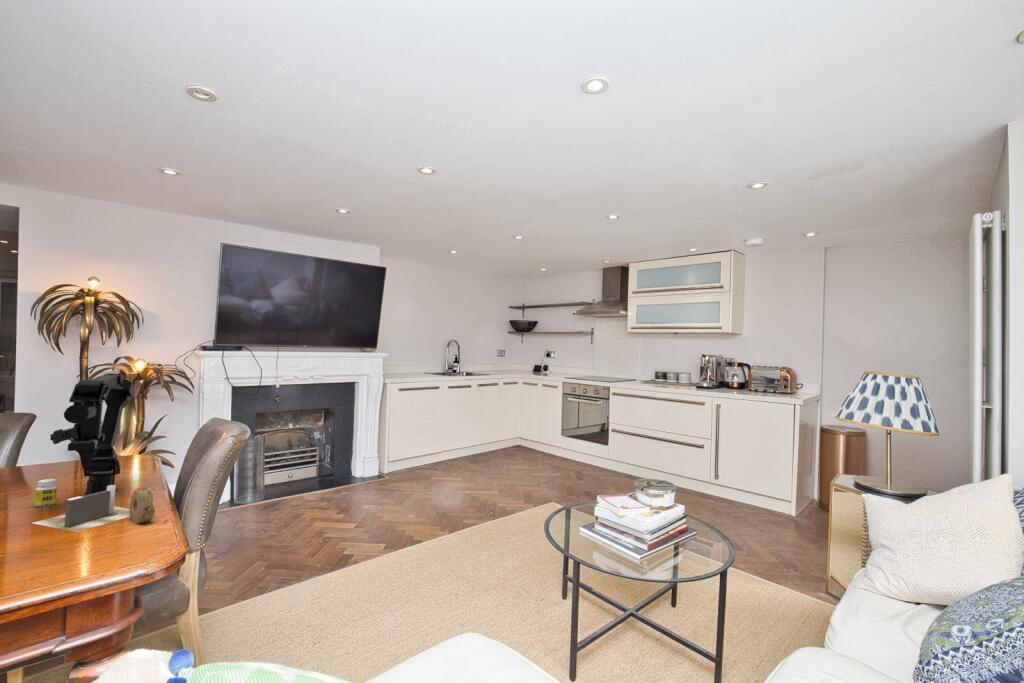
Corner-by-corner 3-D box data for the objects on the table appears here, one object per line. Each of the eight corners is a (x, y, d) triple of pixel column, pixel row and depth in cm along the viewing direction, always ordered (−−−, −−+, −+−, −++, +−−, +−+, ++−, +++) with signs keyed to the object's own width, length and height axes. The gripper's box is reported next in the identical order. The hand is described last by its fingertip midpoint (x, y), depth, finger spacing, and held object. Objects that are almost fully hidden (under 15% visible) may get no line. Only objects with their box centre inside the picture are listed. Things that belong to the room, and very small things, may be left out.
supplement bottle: (40, 510, 139) (43, 483, 140) (29, 509, 140) (31, 481, 141) (59, 506, 144) (61, 479, 144) (47, 504, 145) (50, 477, 145)
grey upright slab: (109, 512, 138) (112, 484, 139) (115, 513, 138) (117, 485, 138) (63, 526, 127) (66, 495, 127) (69, 526, 126) (71, 496, 126)
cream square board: (102, 506, 145) (102, 504, 145) (145, 513, 141) (145, 511, 141) (31, 525, 128) (31, 522, 128) (77, 534, 124) (77, 531, 124)
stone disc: (125, 520, 135) (128, 486, 135) (140, 517, 138) (143, 483, 138) (139, 528, 129) (142, 493, 130) (154, 525, 132) (157, 490, 133)
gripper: (62, 416, 149) (57, 464, 149) (46, 424, 134) (41, 477, 133) (106, 415, 156) (102, 461, 155) (96, 422, 140) (92, 473, 140)
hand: (85, 468), depth 146 cm, fingers closed
